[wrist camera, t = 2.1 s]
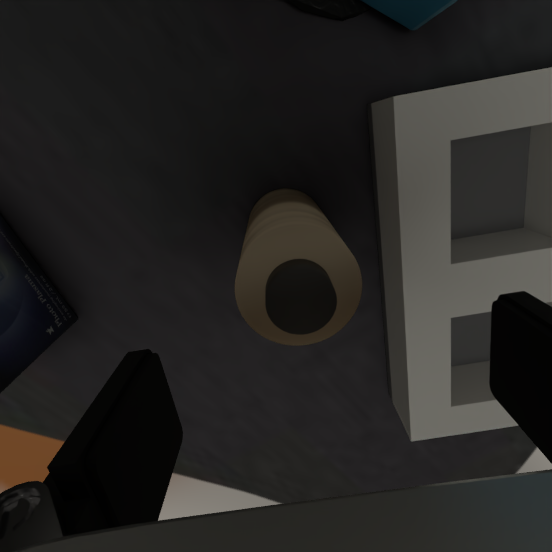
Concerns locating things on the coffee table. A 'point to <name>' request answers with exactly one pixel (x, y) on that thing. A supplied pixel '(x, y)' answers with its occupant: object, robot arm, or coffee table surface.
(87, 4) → the coffee table surface
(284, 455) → the coffee table surface
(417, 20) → the data package
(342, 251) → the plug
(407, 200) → the socket block
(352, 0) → the hairbrush
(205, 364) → the coffee table surface
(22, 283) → the small box
